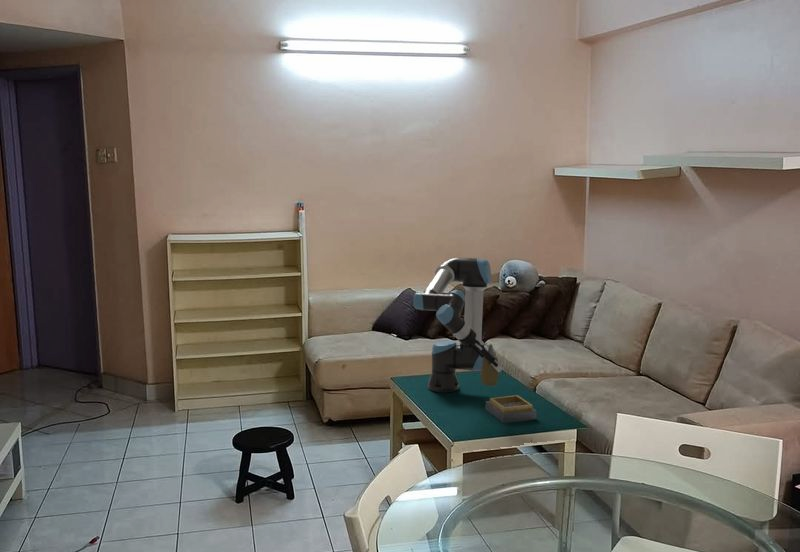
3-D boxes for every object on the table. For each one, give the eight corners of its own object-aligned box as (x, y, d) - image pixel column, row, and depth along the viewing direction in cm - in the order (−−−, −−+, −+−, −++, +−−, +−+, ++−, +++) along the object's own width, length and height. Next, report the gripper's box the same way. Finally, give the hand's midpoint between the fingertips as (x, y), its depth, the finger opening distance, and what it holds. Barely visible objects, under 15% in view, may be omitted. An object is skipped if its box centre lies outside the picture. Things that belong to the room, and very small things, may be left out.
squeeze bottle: (497, 388, 340) (499, 347, 337) (478, 386, 342) (480, 346, 339) (499, 382, 348) (501, 343, 344) (481, 380, 349) (482, 341, 346)
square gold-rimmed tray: (485, 409, 356) (485, 397, 355) (516, 406, 361) (517, 393, 360) (503, 423, 339) (503, 410, 338) (536, 419, 344) (536, 406, 343)
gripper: (450, 334, 345) (482, 367, 353) (467, 345, 327) (501, 380, 335) (461, 322, 346) (494, 355, 354) (479, 332, 328) (512, 368, 336)
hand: (497, 367), depth 344 cm, fingers closed on squeeze bottle, 6 cm apart
